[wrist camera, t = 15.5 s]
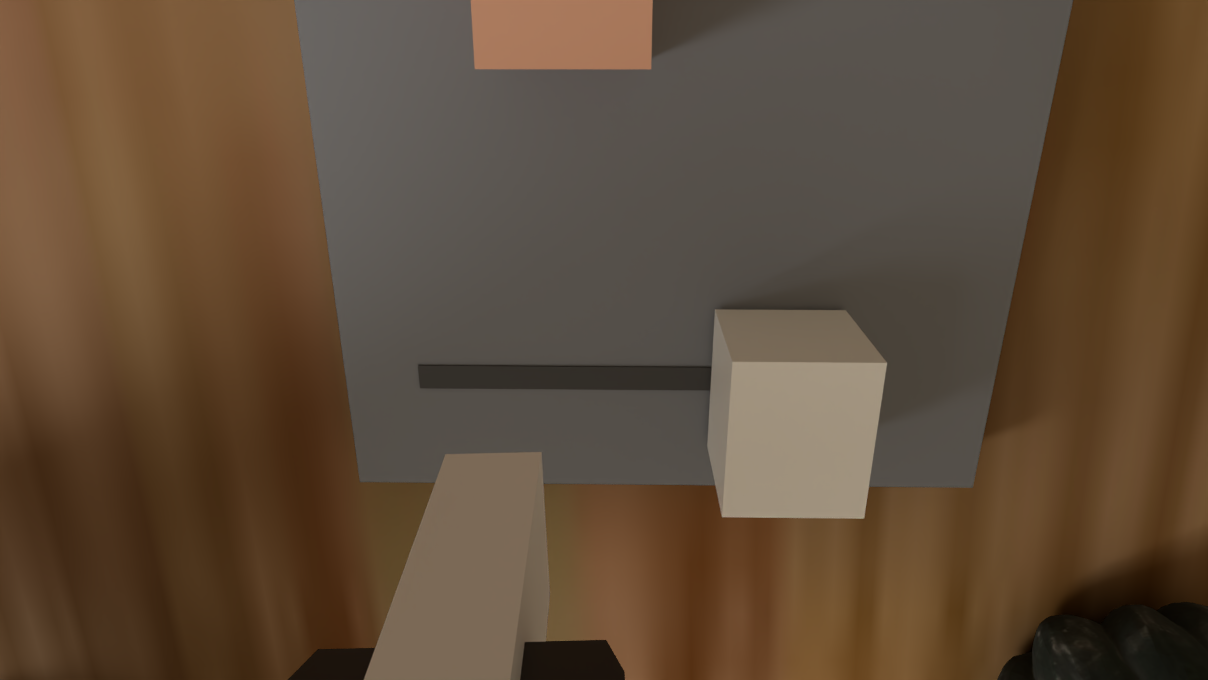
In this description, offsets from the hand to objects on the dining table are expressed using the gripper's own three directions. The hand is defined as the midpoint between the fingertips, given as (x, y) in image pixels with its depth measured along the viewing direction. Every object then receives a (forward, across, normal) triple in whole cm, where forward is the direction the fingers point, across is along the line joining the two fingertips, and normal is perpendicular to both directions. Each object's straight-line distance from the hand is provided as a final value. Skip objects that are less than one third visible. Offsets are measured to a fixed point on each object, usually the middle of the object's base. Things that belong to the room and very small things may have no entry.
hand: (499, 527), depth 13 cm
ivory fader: (+18, +8, -6) cm, 20 cm away
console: (+21, +4, +1) cm, 22 cm away
